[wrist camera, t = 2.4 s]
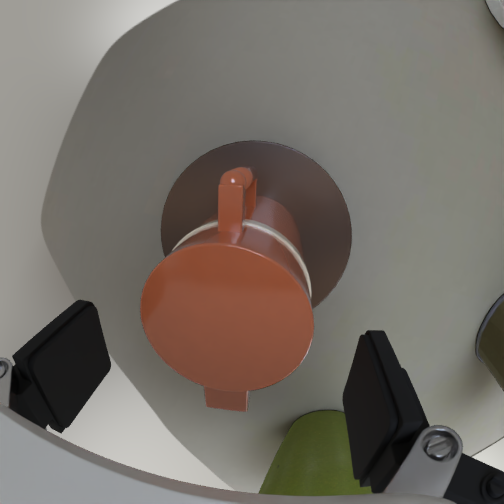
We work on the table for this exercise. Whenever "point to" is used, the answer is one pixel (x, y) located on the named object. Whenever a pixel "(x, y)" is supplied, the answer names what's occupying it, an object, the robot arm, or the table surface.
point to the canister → (493, 341)
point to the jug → (233, 297)
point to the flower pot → (314, 459)
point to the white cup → (497, 10)
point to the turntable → (274, 187)
